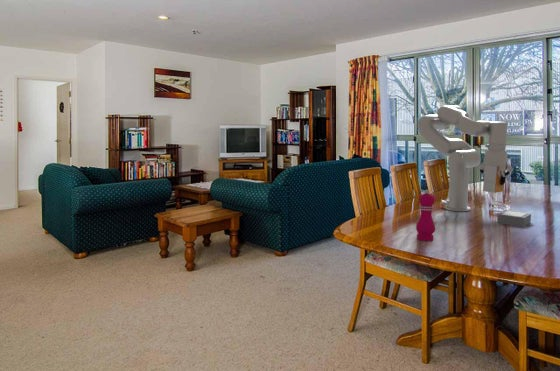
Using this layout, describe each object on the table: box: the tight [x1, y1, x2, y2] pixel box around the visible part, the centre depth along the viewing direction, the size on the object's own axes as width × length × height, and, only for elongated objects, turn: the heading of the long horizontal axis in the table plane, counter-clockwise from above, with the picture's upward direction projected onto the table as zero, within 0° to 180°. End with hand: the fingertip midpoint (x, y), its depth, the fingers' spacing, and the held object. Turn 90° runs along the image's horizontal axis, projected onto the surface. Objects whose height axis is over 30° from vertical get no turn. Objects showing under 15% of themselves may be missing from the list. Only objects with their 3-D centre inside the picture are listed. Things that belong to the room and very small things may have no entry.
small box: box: [482, 165, 505, 194], centre depth 209 cm, size 8×6×13 cm
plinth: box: [496, 210, 532, 228], centre depth 198 cm, size 11×11×4 cm
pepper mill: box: [415, 189, 436, 242], centre depth 170 cm, size 7×7×20 cm
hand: (493, 183), depth 210 cm, fingers closed on small box, 7 cm apart
